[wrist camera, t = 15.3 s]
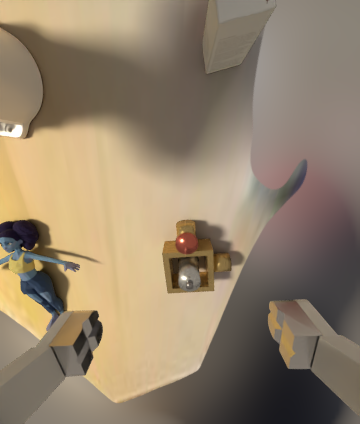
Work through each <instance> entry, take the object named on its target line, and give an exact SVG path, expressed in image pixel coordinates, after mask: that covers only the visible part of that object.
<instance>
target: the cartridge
mask: <svg viewBox="0 0 360 424" xmlns="http://www.w3.org/2000/svg"><path fill="white" fill-rule="evenodd" d="M198 261H199V260H198V256H194V257H179V258H178V262H179V281H178V283H179V286H180V288H181V289H182V290H184V291H187V292H192V291H195V290H197V289H198V288H199V287H200V285H201V280H200V273H199V266H198Z"/></svg>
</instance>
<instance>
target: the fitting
mask: <svg viewBox="0 0 360 424" xmlns="http://www.w3.org/2000/svg"><path fill="white" fill-rule="evenodd" d="M176 228H177V238H176V241H165V243H164V248H163V253H162V255H163V262H164V269H165V277H166V284H167V291H168V293H184V292H187V291H184V290H182V289H181V288H180V286H179V283H178V281H179V273H178V274H174V272H173V263H172V258H178V257H194V256H205V265H206V272H199V273H200V280H201V285H200V287H199V288H198V289H197V290H195V291H192V292H203V291H214V272H224V271H231V259H230V255H229V253H218V254H213V248H212V245H211V242H210V239H197V237H196V230H195V222H194V221H192V220H182V221H179V222H177V223H176Z"/></svg>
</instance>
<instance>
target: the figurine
mask: <svg viewBox="0 0 360 424" xmlns="http://www.w3.org/2000/svg"><path fill="white" fill-rule="evenodd" d="M38 236H39V235H38V232H37V229H36V227H35V226H34V225H33V224H32V223H31V222H29V221H26V220H20V221H17V222H11V221H8V222H4V223H2V224H0V244H1V246H2V247H3V249H4V250H6V251H7V252H8V253H11V252H13V251H15V252H14V253H12V254H10V255H8V256H7V257H5V258H3V259H1V260H0V265H1V264H3V263H6V262H8V261H9V269H10V270H11V271H12V272H14V273H15V274H18V275H19V276H20V278H21V291H22V292H23V294H27V295H28V296H29V297H30V298H32V299H33V300H35V301H36V302H37V303H39V304H41V305H42V306H43V307H44V308H45V309H46V310H47V311H48V312H49V313H51V314H52V319H51V321H50V323H49V324H48V326H47V328H46V330H47V331H48V330H49V329H50V327H51V326H52V325H53V324H54V322H55V321H56V320H57V318H58V317H59V315H58V314H57V313H56V312H55V309H56V310H58V311H59V312H60V314H62V313H63V312H64V310H63V309H64V307H63V302H62V300H61V299H60V298H58V297H57V296H56V295H55V291H54V288H53V284H52V280H51V279H50V277H49V276H48V274H46V273H44V272H41V271H36V269H35V264H34V260H33V259H36V260H42V261H48V262H53V263H58V264H63V265H64V270H65V271H66V270H67V269H70V270H72V271H74V272H76V271H75V270H74V269H76V270H79V269H78V268H80V267H79V266H80V265H78V264H75V263H73V262H67V261H62V260H58V259H54V258H50V257H46V256H42V255H38V254H34V253H32V252H30V251H28V250H32V249H33V248H34V246H35V243H36V241H37V240H38ZM22 247H24V248H25V249H27V251H24V250H22V249H21V248H22ZM76 267H78V268H76Z"/></svg>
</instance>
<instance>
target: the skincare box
mask: <svg viewBox="0 0 360 424" xmlns="http://www.w3.org/2000/svg"><path fill="white" fill-rule="evenodd" d="M275 8H276V0H209V2H208V9H207V16H206V22H205V29H204V35H203V42H202V49H203V56H204V63H205V71H206V74H209V73H212V72H216V71H219V70H223V69H227V68H230V67H234V66H237V65H240V64H241V63H242V61H243V60H244V58H245V56H246V55H247V53H248V52H249V50H250V48H251V47H252V45H253V44H254V42H255V40H256V39H257V37H258V35H259V34H260V32H261V30H262V29H263V27H264V26H265V24H266V22H267V21H268V19H269V17H270V16H271V14H272V13H273V11H274V9H275Z"/></svg>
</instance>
